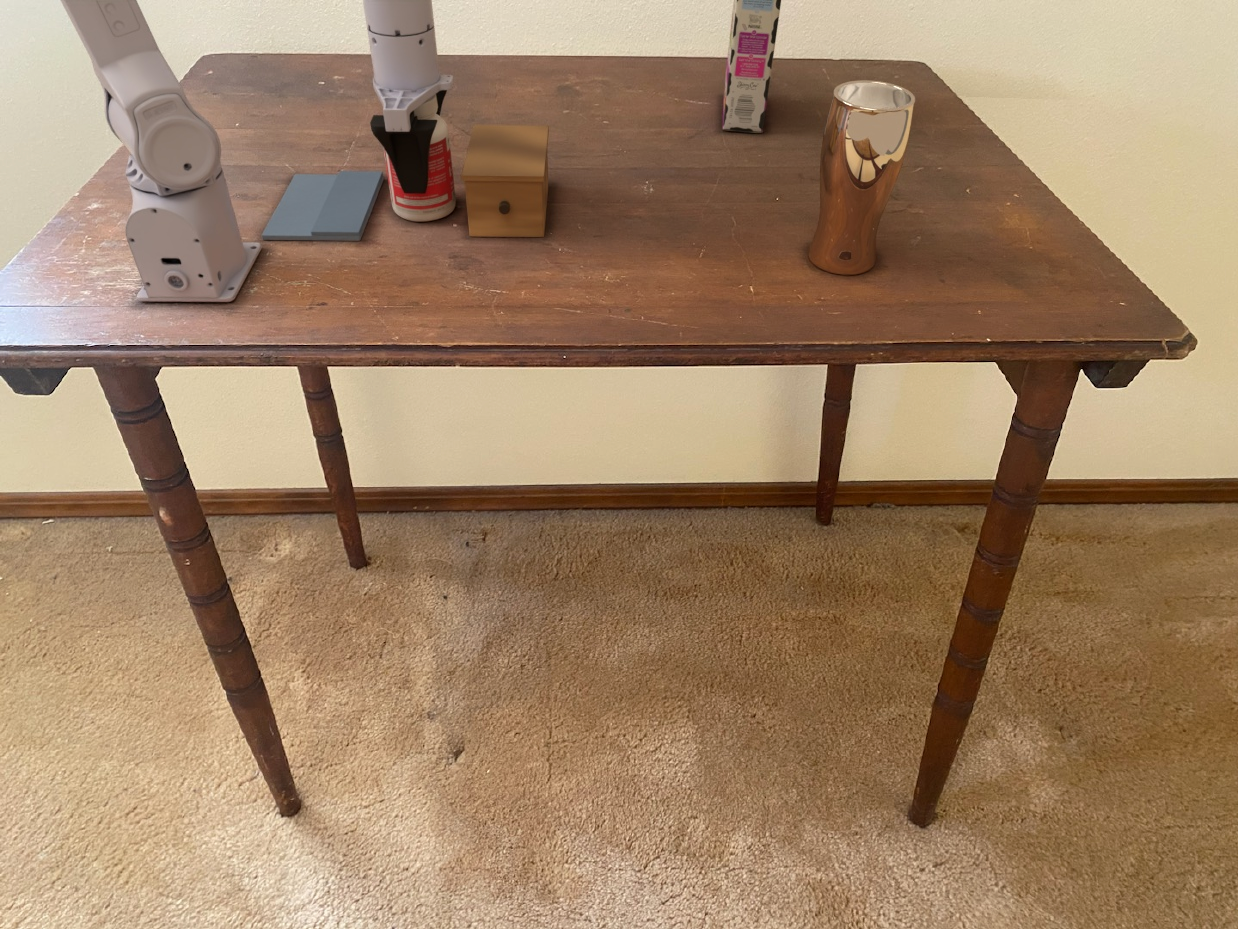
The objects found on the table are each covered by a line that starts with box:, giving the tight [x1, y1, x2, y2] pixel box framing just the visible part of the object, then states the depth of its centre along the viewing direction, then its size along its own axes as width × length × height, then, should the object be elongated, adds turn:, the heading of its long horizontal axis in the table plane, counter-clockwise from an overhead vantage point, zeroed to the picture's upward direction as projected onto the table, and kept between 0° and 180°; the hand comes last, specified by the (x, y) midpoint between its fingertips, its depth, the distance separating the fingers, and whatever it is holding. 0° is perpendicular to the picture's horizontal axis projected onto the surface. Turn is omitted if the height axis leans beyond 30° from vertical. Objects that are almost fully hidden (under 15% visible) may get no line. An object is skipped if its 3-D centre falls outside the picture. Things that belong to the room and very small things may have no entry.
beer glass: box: [807, 79, 916, 276], centre depth 81 cm, size 7×7×15 cm
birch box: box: [460, 124, 550, 238], centre depth 89 cm, size 12×7×6 cm, turn 1°
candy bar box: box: [722, 0, 782, 134], centre depth 105 cm, size 11×5×16 cm, turn 175°
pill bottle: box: [382, 94, 457, 223], centre depth 88 cm, size 6×6×11 cm
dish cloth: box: [261, 170, 385, 242], centre depth 91 cm, size 13×9×1 cm
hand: (420, 176), depth 89 cm, fingers closed on pill bottle, 6 cm apart
